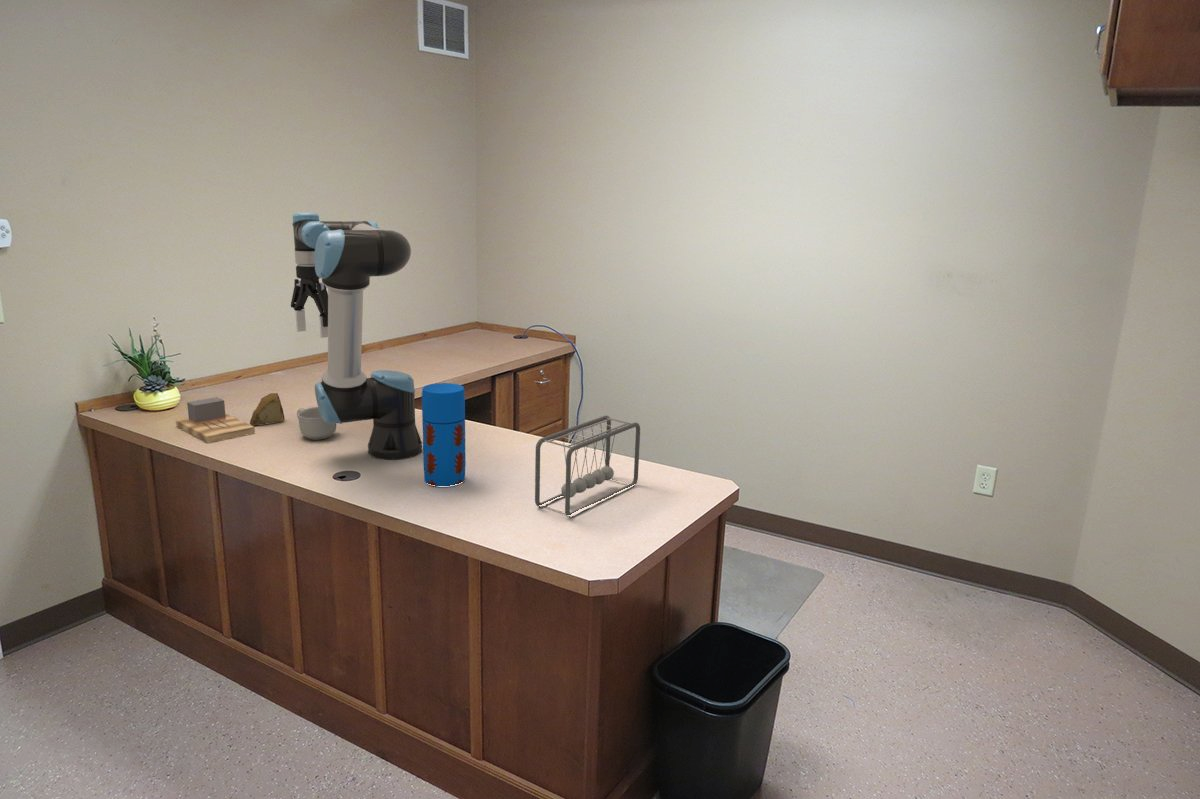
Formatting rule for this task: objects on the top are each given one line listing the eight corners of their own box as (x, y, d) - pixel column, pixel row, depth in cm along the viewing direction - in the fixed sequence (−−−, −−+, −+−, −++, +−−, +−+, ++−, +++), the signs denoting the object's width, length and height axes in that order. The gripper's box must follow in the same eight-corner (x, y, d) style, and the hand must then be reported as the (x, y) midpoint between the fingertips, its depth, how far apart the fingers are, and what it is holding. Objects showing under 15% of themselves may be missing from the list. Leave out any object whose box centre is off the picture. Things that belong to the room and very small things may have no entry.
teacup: (344, 437, 246) (342, 411, 244) (310, 445, 239) (308, 418, 237) (320, 427, 256) (319, 402, 253) (287, 434, 248) (285, 408, 246)
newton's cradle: (567, 520, 193) (569, 449, 188) (533, 509, 199) (534, 439, 194) (638, 485, 216) (641, 421, 212) (606, 476, 222) (608, 413, 218)
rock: (246, 422, 250) (280, 416, 252) (243, 396, 253) (277, 391, 255) (254, 433, 260) (287, 428, 262) (251, 409, 263) (284, 403, 265)
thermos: (446, 490, 208) (444, 395, 201) (415, 481, 213) (412, 388, 207) (474, 478, 217) (473, 387, 210) (443, 470, 222) (442, 380, 216)
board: (255, 433, 247) (254, 426, 247) (208, 443, 237) (207, 436, 237) (222, 417, 261) (221, 411, 261) (176, 426, 251) (175, 420, 251)
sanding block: (225, 418, 253) (224, 400, 252) (196, 424, 247) (194, 405, 245) (218, 415, 257) (216, 397, 255) (189, 421, 250) (187, 402, 249)
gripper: (343, 267, 243) (346, 338, 248) (298, 260, 258) (302, 327, 264) (320, 269, 237) (324, 341, 243) (276, 262, 253) (280, 330, 258)
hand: (313, 334), depth 253 cm, fingers open, 13 cm apart
